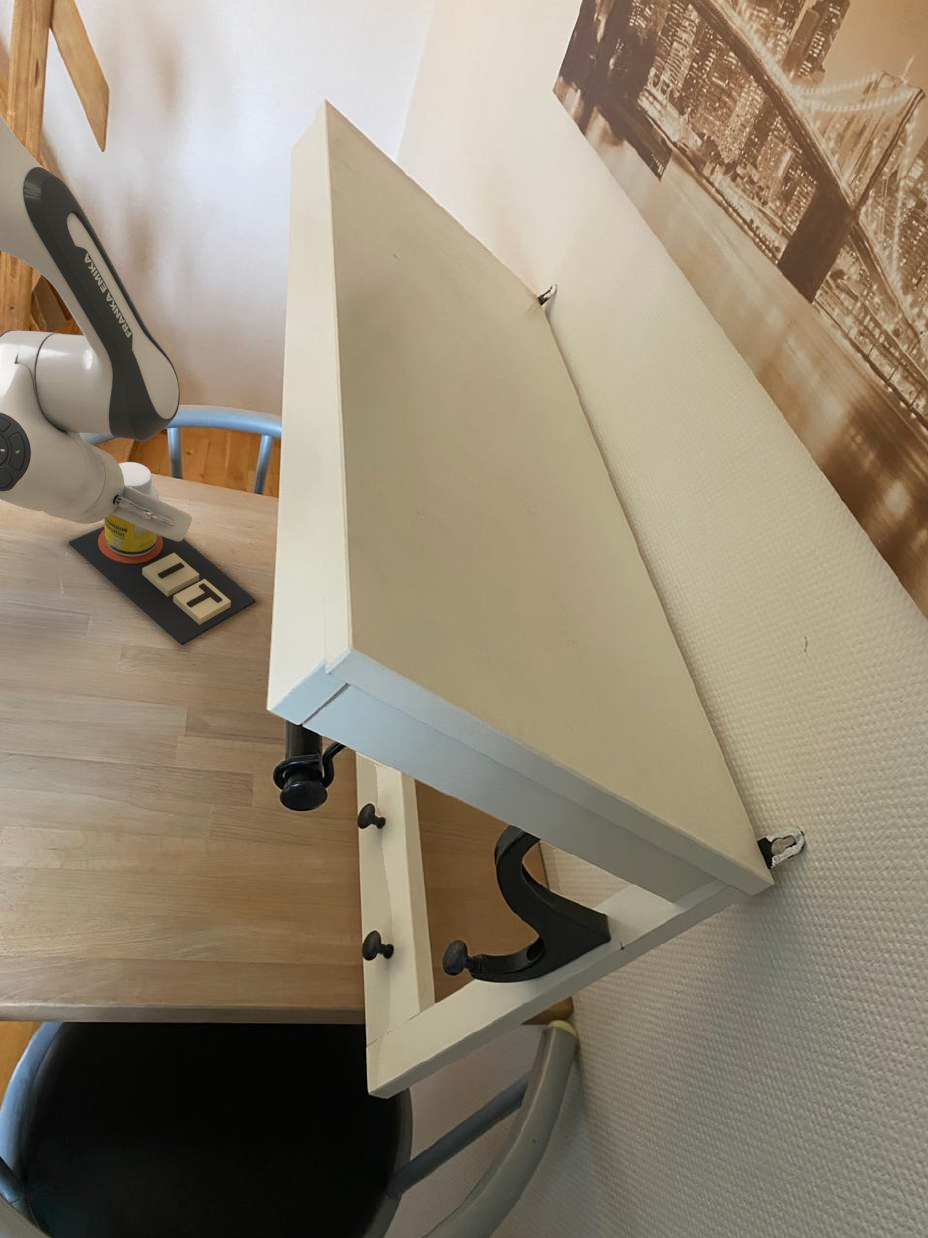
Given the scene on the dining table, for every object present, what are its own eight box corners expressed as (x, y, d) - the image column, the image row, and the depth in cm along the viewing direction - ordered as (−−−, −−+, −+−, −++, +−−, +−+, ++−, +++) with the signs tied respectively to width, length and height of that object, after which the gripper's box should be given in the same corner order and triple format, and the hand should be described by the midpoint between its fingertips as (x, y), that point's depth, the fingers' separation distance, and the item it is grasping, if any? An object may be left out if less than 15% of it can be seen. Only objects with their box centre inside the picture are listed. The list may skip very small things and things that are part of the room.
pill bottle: (100, 528, 109) (97, 458, 101) (151, 522, 112) (151, 455, 104) (111, 562, 106) (108, 492, 98) (163, 555, 109) (164, 488, 101)
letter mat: (69, 547, 107) (67, 533, 105) (146, 512, 115) (146, 499, 113) (181, 648, 101) (182, 635, 99) (255, 604, 109) (257, 592, 107)
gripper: (174, 495, 91) (216, 514, 104) (11, 420, 92) (75, 449, 105) (150, 546, 91) (196, 559, 104) (-13, 471, 92) (54, 493, 105)
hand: (134, 503), depth 105 cm, fingers closed on pill bottle, 6 cm apart
